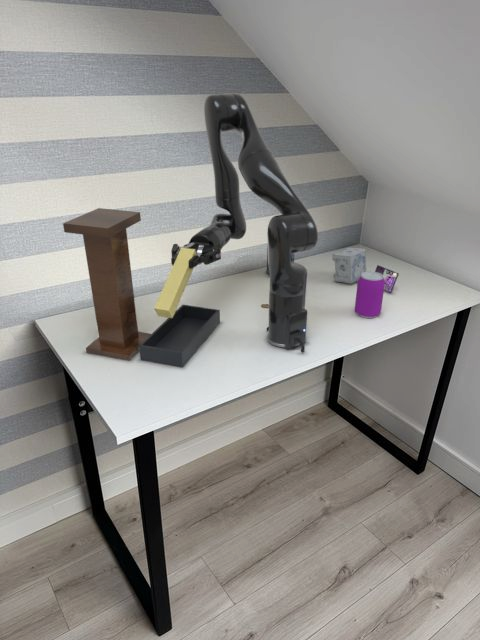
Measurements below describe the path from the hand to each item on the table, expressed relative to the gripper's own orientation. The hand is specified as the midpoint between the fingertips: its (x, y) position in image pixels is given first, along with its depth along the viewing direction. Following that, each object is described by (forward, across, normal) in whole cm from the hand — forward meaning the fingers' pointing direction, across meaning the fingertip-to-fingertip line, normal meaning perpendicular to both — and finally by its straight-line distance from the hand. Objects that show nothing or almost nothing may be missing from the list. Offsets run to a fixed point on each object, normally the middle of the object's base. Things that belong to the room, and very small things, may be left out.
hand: (181, 263), depth 126 cm
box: (-53, +12, +21) cm, 58 cm away
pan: (+2, 0, +20) cm, 21 cm away
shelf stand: (+10, -14, +20) cm, 27 cm away
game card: (-52, +48, +21) cm, 74 cm away
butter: (+3, 0, +5) cm, 6 cm away
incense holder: (-55, +35, +21) cm, 68 cm away
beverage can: (-30, +44, +21) cm, 57 cm away
